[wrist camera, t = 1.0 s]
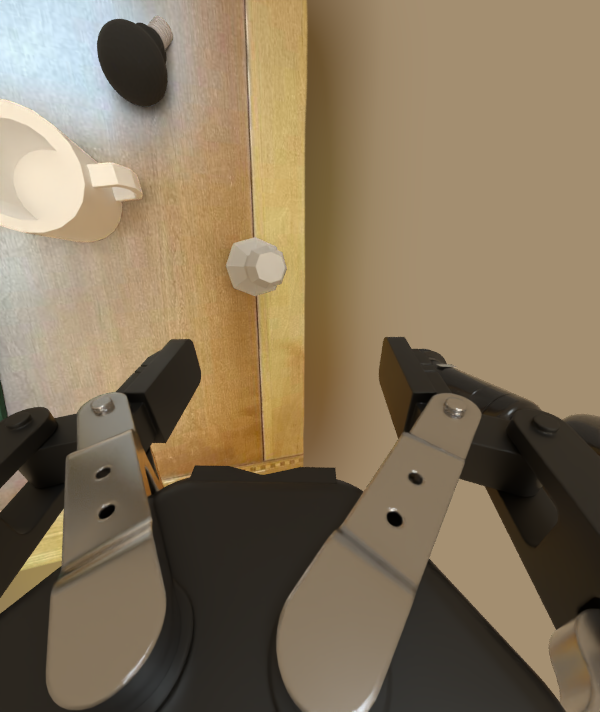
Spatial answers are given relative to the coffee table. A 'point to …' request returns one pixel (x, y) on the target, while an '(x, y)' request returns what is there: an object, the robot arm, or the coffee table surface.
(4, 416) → the green book
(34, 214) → the mug
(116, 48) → the black bulb shape
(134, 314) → the coffee table surface
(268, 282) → the low poly bottle
